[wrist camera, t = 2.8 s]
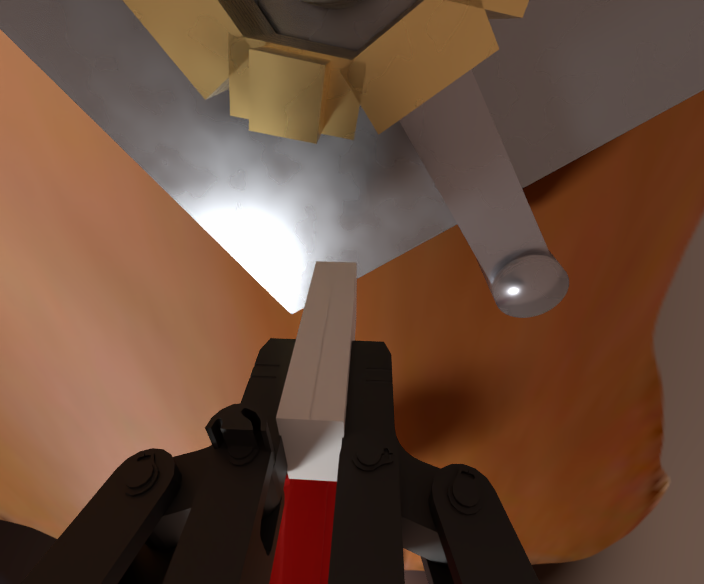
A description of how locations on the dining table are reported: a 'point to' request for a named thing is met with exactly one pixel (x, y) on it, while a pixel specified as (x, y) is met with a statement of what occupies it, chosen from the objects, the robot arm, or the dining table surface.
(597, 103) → the housing
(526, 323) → the dining table surface
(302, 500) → the water bottle
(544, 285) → the ring nut
